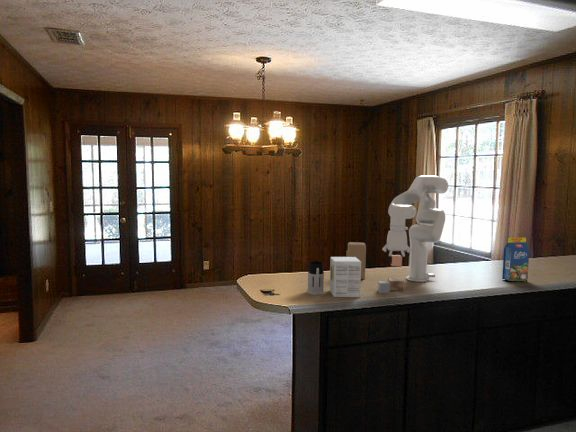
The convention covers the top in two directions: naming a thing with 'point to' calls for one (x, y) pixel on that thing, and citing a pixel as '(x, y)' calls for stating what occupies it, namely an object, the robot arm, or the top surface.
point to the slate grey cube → (383, 287)
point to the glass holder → (316, 278)
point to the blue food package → (516, 260)
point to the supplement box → (345, 276)
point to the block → (358, 254)
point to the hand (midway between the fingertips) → (396, 263)
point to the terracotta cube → (396, 260)
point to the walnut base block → (396, 283)
